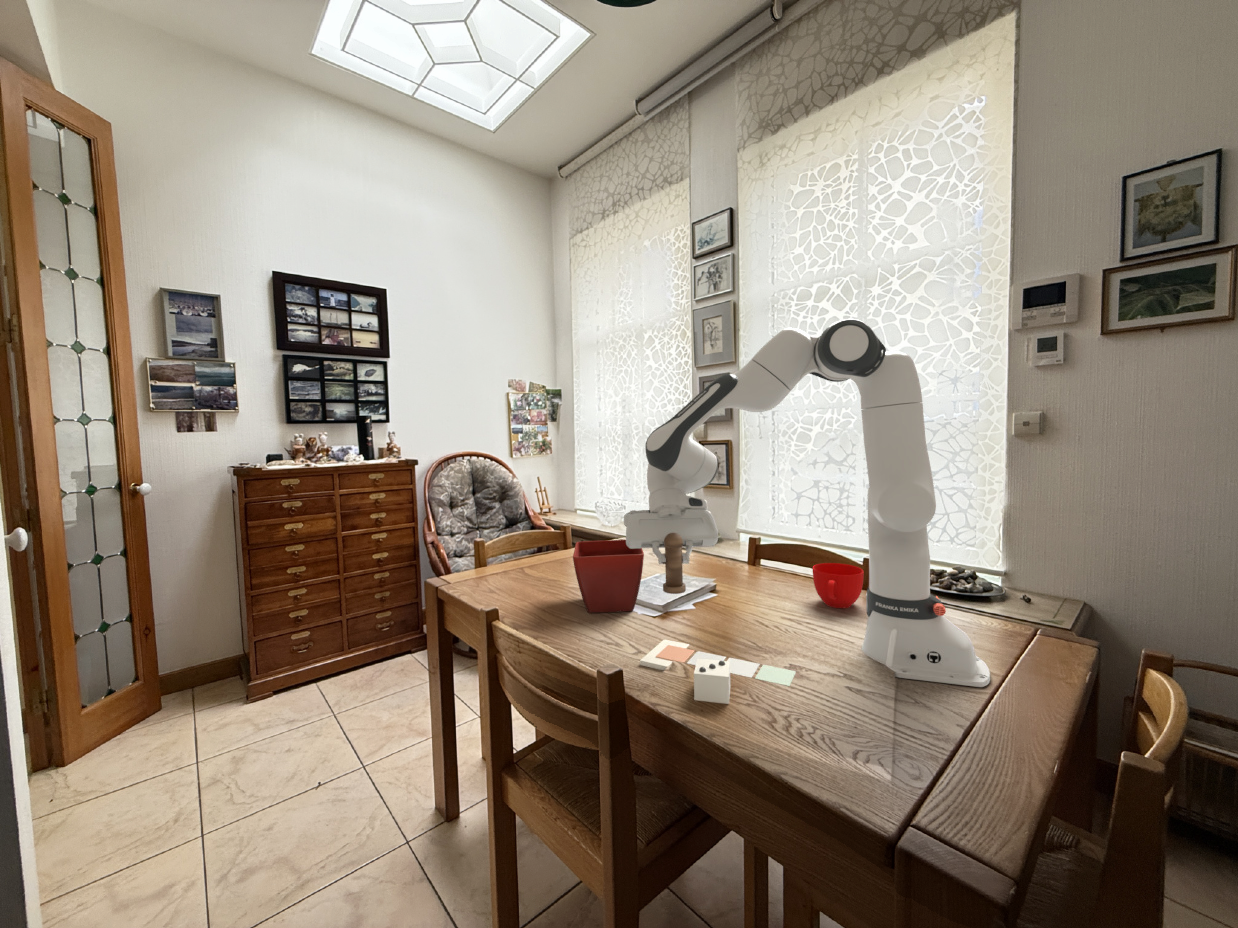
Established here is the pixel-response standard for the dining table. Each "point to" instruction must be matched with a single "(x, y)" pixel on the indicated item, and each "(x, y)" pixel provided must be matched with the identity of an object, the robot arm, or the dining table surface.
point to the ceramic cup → (838, 583)
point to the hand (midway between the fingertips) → (674, 562)
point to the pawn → (673, 564)
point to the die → (712, 681)
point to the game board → (678, 652)
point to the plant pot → (608, 574)
